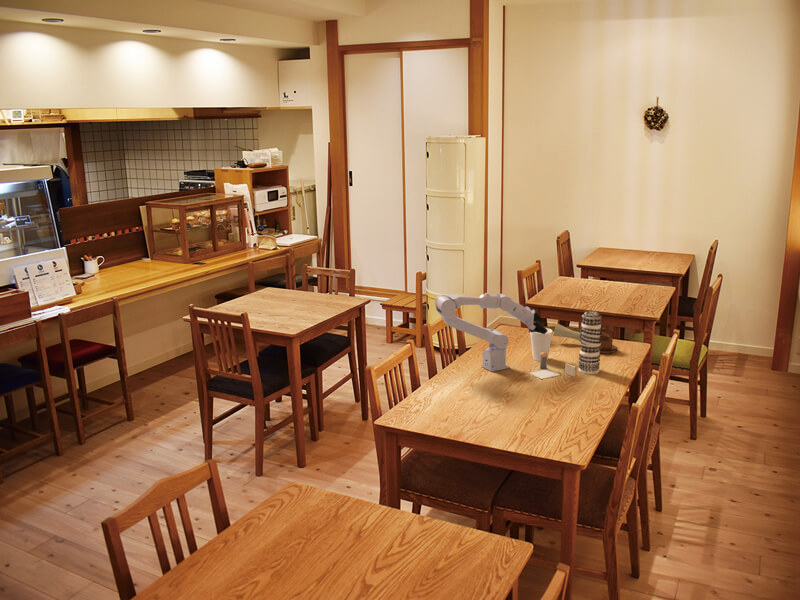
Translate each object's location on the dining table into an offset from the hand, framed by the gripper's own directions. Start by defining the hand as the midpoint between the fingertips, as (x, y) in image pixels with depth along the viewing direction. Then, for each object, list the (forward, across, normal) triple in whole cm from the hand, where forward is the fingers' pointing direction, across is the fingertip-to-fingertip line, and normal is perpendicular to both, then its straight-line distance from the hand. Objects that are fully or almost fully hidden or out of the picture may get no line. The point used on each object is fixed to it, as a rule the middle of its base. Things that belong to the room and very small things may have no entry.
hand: (544, 327), depth 304 cm
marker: (+6, -12, +11) cm, 18 cm away
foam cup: (+10, 0, +14) cm, 17 cm away
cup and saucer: (+37, +9, -1) cm, 38 cm away
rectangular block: (+13, -19, +4) cm, 23 cm away
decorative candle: (+21, -15, 0) cm, 26 cm away
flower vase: (+25, +22, +13) cm, 36 cm away
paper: (+4, -19, +10) cm, 22 cm away
